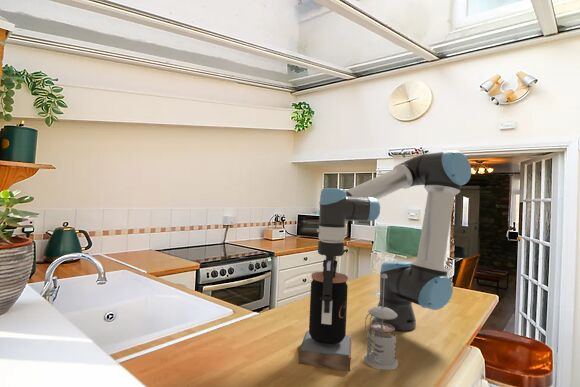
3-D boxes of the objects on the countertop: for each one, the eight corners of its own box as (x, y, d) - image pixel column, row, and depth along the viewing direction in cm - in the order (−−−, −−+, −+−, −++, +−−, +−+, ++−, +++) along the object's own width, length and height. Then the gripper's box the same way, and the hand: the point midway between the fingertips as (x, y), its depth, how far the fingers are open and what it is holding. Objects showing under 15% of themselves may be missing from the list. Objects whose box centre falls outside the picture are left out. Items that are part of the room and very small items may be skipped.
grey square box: (350, 348, 104) (351, 335, 104) (350, 371, 90) (350, 355, 90) (305, 342, 107) (306, 330, 107) (298, 363, 93) (299, 349, 93)
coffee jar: (344, 347, 92) (347, 281, 92) (306, 342, 94) (308, 277, 95) (346, 332, 103) (348, 273, 103) (311, 328, 105) (313, 270, 105)
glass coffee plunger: (377, 372, 90) (381, 278, 91) (352, 353, 101) (356, 269, 101) (406, 366, 94) (409, 276, 94) (379, 348, 105) (382, 268, 105)
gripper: (322, 236, 111) (319, 303, 111) (313, 245, 88) (310, 330, 88) (345, 237, 109) (342, 305, 109) (342, 247, 87) (339, 333, 87)
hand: (327, 316), depth 99 cm, fingers closed on coffee jar, 11 cm apart
